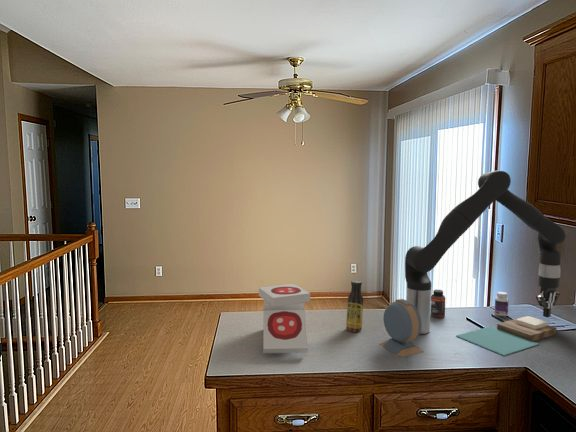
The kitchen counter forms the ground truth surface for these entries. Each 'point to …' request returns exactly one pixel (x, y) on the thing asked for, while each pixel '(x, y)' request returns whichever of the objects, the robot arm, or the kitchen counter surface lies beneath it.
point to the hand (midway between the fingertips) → (546, 316)
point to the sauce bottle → (355, 308)
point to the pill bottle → (501, 304)
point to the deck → (526, 330)
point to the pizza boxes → (284, 318)
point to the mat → (497, 340)
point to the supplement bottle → (438, 304)
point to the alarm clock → (402, 328)
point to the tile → (531, 322)
